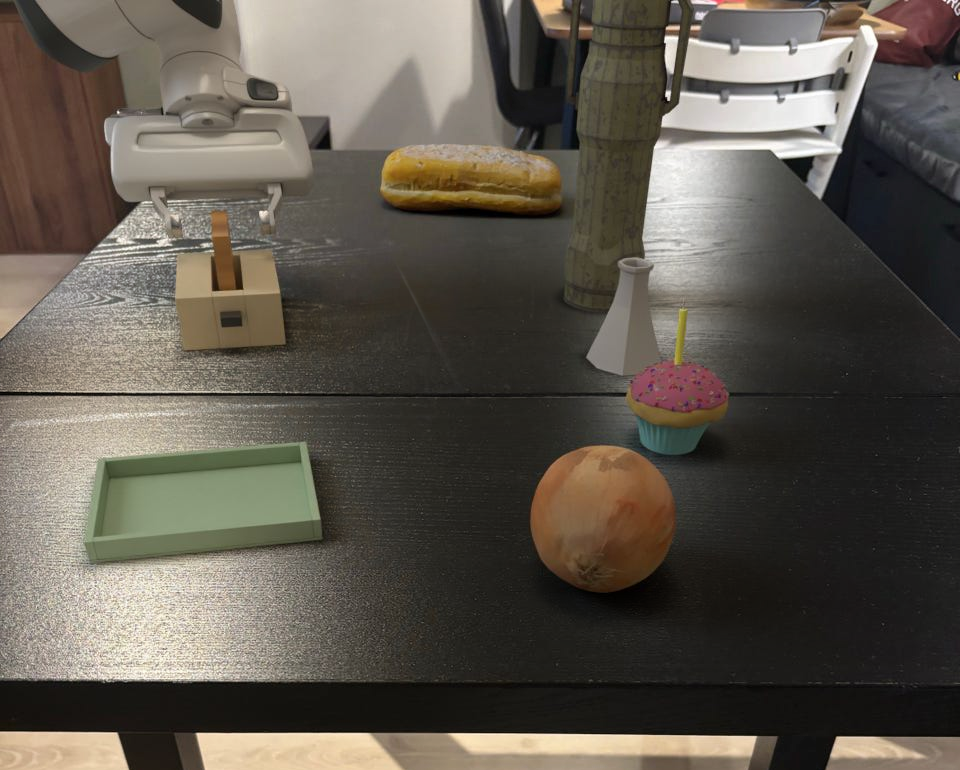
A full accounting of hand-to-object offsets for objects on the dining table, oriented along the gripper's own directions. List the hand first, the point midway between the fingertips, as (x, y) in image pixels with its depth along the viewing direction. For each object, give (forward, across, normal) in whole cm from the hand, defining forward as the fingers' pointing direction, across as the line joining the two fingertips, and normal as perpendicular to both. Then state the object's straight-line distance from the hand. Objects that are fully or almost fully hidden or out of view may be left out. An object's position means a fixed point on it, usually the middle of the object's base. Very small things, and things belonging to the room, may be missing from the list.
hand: (222, 233), depth 97 cm
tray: (+35, -3, -22) cm, 41 cm away
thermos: (+7, +42, +6) cm, 43 cm away
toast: (+8, 0, +3) cm, 9 cm away
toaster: (+9, 0, +4) cm, 9 cm away
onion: (+45, +23, -32) cm, 60 cm away
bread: (-22, +36, +34) cm, 54 cm away
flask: (+20, +38, -7) cm, 44 cm away
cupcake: (+32, +36, -19) cm, 52 cm away
